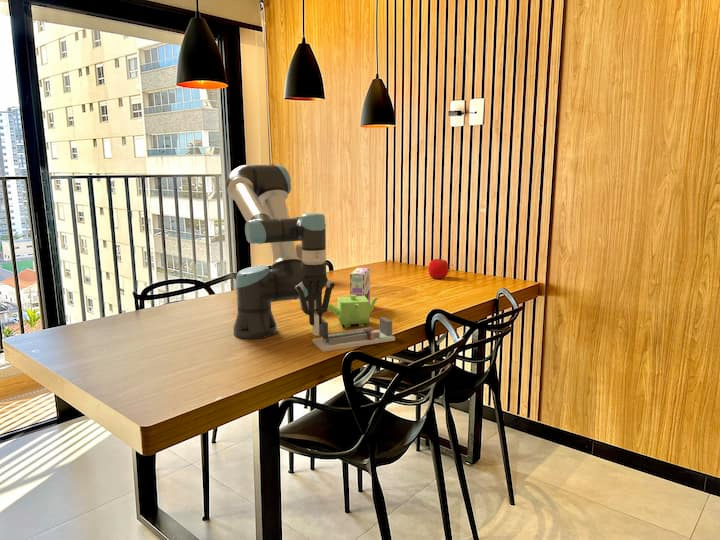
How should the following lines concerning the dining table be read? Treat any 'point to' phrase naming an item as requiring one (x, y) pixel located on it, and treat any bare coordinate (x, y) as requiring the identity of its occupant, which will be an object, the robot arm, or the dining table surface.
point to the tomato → (438, 268)
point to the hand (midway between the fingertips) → (315, 334)
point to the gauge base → (358, 337)
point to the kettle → (353, 310)
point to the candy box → (360, 282)
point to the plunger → (324, 333)
